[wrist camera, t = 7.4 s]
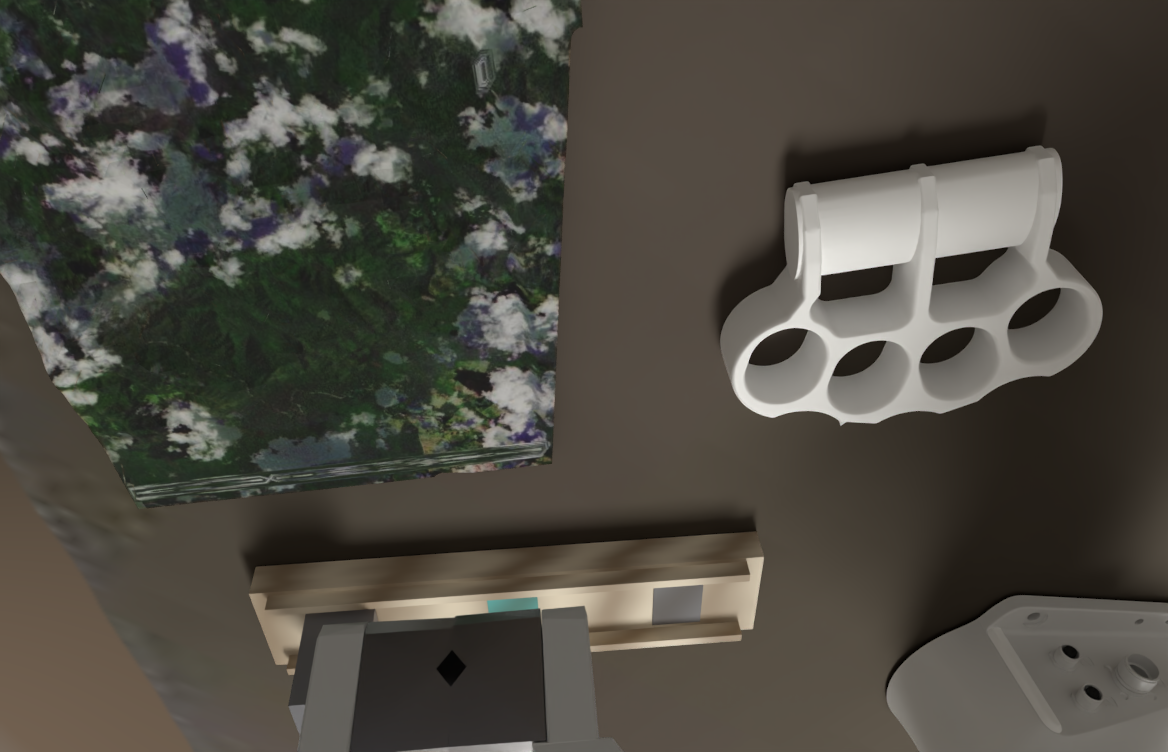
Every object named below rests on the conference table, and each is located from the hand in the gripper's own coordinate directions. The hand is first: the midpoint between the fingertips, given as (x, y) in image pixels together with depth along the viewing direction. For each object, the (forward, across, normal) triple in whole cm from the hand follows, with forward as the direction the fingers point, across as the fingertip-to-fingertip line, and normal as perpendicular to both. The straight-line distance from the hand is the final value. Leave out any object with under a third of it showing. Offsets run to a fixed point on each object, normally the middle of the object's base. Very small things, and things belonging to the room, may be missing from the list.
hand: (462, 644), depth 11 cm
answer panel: (+31, +1, +38) cm, 49 cm away
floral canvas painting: (+32, +9, +10) cm, 35 cm away
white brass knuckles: (+32, -19, +17) cm, 41 cm away
